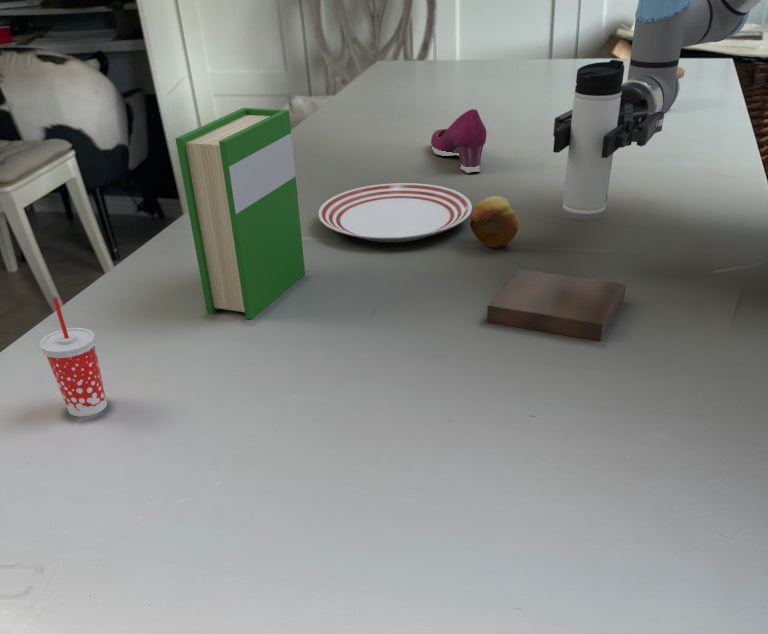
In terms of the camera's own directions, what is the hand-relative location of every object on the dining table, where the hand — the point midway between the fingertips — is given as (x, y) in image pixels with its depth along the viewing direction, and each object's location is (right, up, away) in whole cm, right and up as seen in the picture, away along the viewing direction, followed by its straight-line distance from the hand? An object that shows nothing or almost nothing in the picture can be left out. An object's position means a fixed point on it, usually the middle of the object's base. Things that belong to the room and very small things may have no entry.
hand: (580, 144), depth 110 cm
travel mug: (+3, -6, +10) cm, 12 cm away
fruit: (-8, -6, +26) cm, 28 cm away
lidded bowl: (+42, +53, +98) cm, 119 cm away
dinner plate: (-25, +2, +36) cm, 44 cm away
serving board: (-2, -22, +5) cm, 22 cm away
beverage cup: (-63, -38, -12) cm, 74 cm away
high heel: (-10, +28, +68) cm, 74 cm away
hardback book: (-46, -17, +14) cm, 51 cm away
